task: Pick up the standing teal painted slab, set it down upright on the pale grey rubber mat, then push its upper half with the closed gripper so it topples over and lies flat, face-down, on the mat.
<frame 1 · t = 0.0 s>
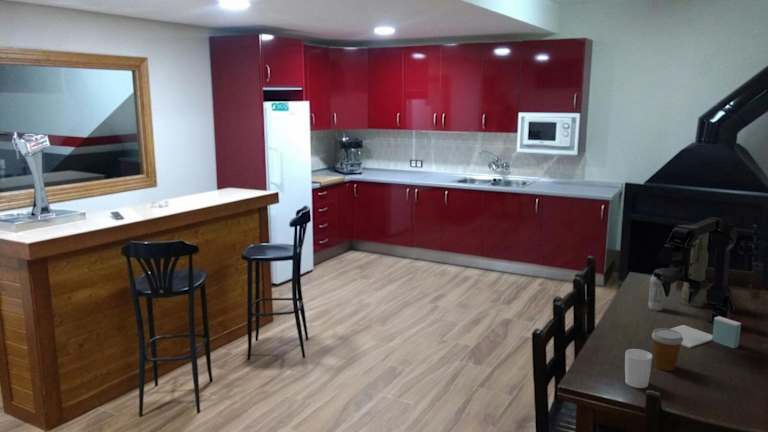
hand: (678, 300, 215), 15 cm above the table, fingers open, 9 cm apart
thermos: (691, 304, 253), on the table
mat: (686, 336, 218), on the table
disposable coffee cup: (664, 367, 194), on the table
slab: (725, 343, 212), on the table
energy drink can: (655, 309, 248), on the table
white cup: (636, 383, 183), on the table
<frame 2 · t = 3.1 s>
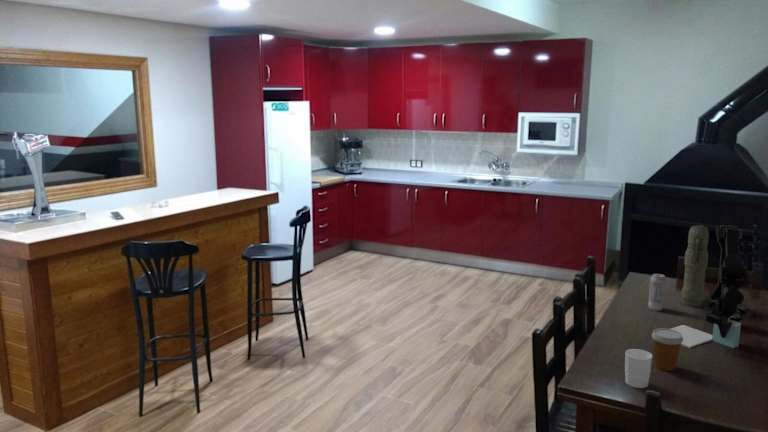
hand: (725, 336, 212), 3 cm above the table, fingers closed on slab, 3 cm apart
slab: (725, 343, 212), on the table, touching gripper
everything else where it was.
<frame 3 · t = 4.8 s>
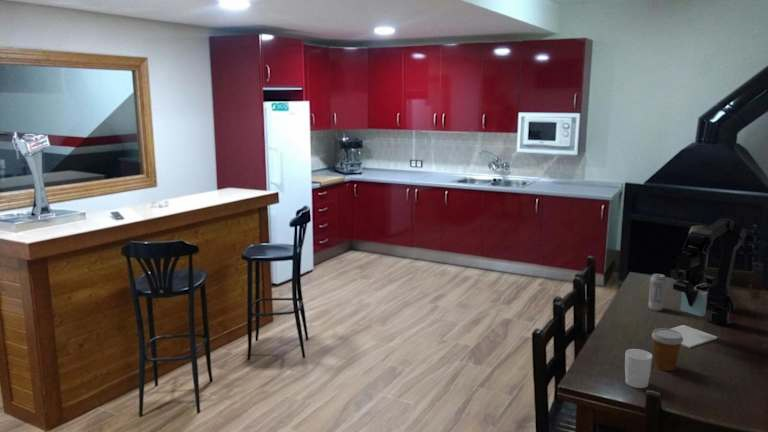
hand: (693, 305, 217), 12 cm above the table, fingers closed on slab, 3 cm apart
slab: (692, 312, 218), point 9 cm above the table, touching gripper
everything else where it was.
when the fingers open (4 cm above the table, at t = 6.9 s): slab stays where it is, resting on mat.
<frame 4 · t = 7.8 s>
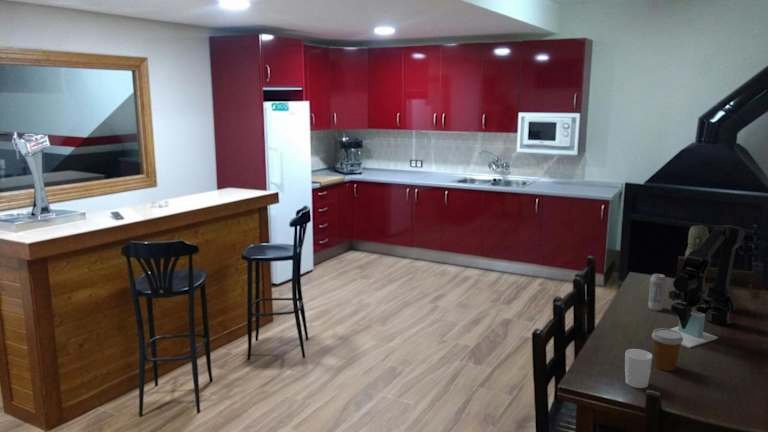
hand: (691, 326, 219), 4 cm above the table, fingers open, 9 cm apart
slab: (690, 333, 220), point 1 cm above the table, touching mat
everything else where it was.
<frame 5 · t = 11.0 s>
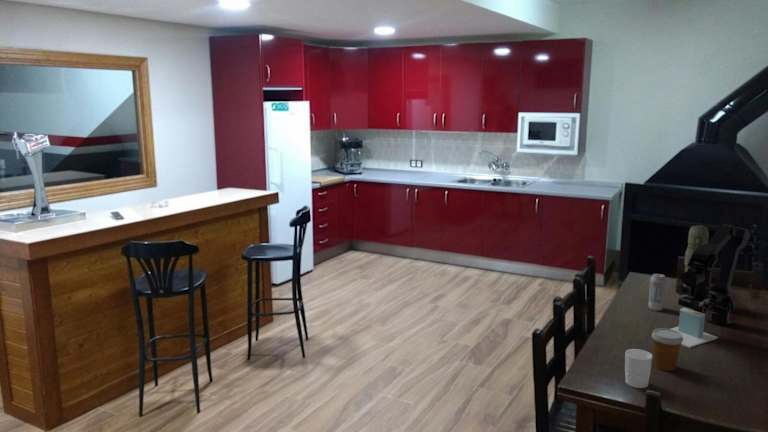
hand: (698, 320, 220), 5 cm above the table, fingers closed
slab: (690, 333, 220), point 1 cm above the table, touching gripper, mat
everything else where it was.
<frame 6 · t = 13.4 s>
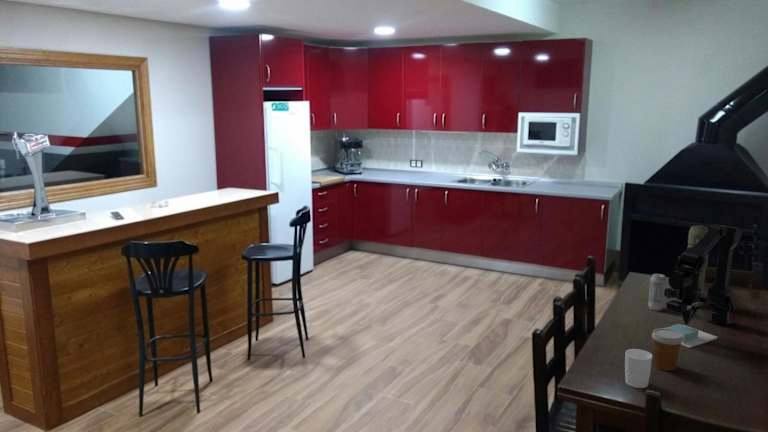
hand: (686, 324, 217), 5 cm above the table, fingers closed
slab: (688, 330, 218), point 2 cm above the table, tilted 90°, touching mat
everything else where it was.
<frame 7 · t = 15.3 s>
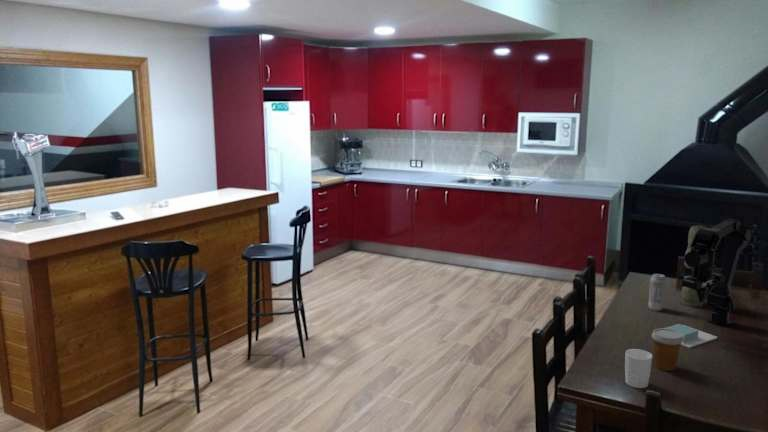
hand: (701, 301, 219), 12 cm above the table, fingers closed
nothing on the table moved.
at the end: slab tilted 90°; slab inside the target area on the mat (1.5 cm from its centre), point 2.1 cm above the mat's base; the gripper is holding nothing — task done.
